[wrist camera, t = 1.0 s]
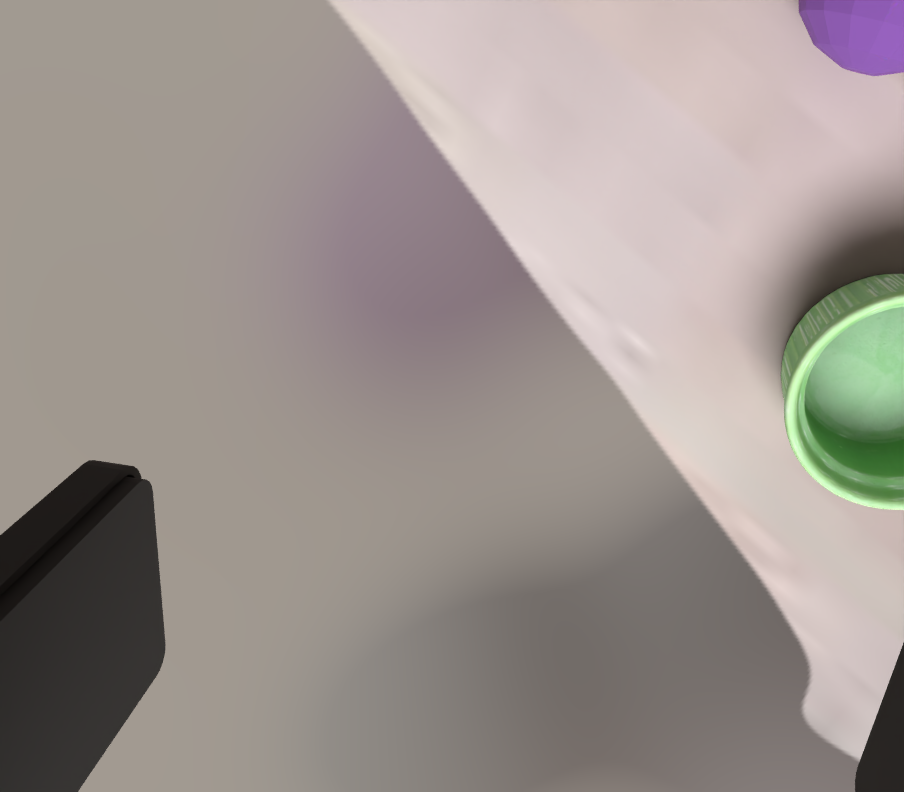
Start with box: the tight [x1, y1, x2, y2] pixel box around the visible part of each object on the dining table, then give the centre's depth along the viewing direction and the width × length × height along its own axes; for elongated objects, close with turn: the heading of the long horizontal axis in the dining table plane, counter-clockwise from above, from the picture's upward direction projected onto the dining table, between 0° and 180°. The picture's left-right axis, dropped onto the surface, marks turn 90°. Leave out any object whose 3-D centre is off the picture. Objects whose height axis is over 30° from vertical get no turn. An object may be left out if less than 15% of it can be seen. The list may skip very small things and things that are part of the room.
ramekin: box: [781, 274, 904, 510], centre depth 34 cm, size 9×9×4 cm
